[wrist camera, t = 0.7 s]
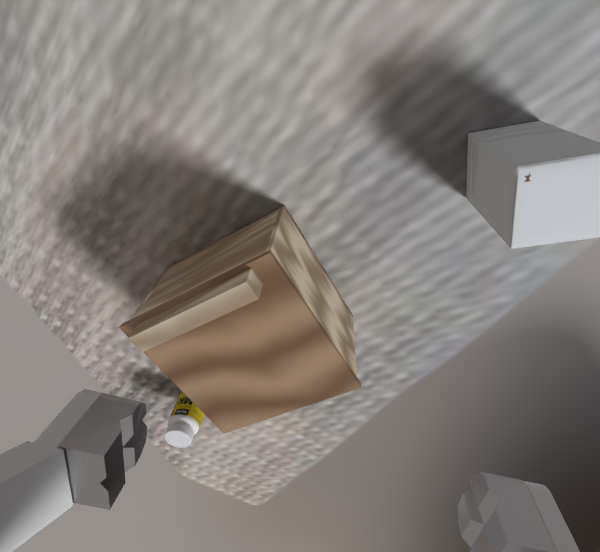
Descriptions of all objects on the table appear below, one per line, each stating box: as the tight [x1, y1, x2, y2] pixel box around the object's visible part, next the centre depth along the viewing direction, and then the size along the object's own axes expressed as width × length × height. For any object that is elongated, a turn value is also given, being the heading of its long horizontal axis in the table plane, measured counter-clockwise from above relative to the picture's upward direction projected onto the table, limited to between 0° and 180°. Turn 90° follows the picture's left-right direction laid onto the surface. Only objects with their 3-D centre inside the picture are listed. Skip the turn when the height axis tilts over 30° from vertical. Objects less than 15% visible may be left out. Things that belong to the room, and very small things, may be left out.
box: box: [130, 205, 357, 377], centre depth 47 cm, size 18×18×12 cm
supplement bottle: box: [165, 391, 204, 448], centre depth 60 cm, size 5×5×8 cm
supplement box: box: [466, 121, 600, 249], centre depth 36 cm, size 7×7×13 cm
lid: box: [119, 250, 361, 433], centre depth 40 cm, size 19×19×3 cm
